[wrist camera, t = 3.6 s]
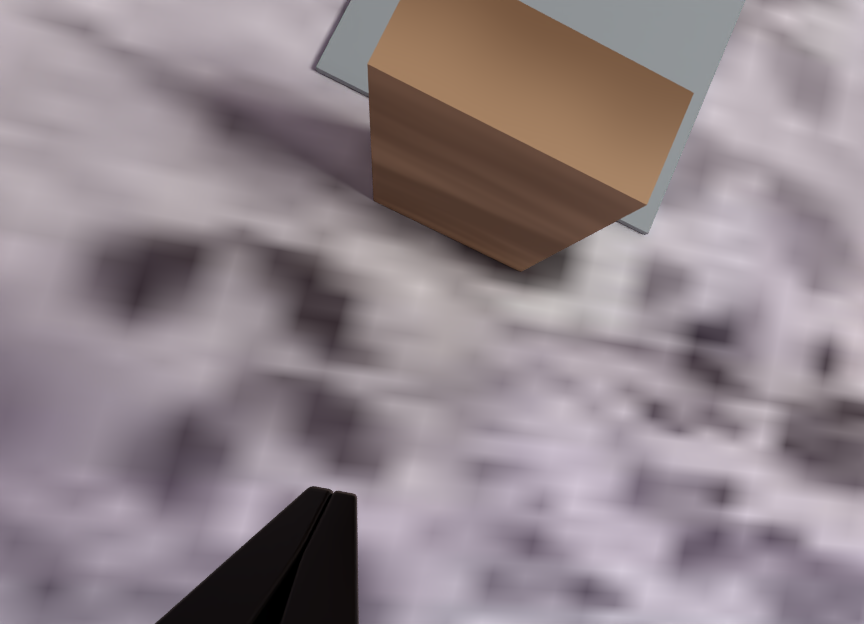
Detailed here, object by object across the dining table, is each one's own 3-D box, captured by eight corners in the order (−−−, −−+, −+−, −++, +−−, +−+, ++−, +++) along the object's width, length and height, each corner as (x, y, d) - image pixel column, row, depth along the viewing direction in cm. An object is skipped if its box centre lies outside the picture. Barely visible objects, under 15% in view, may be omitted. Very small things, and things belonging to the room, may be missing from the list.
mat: (644, 234, 22) (648, 233, 21) (316, 71, 21) (316, 66, 20) (752, -24, 23) (757, -28, 23) (452, -189, 22) (453, -196, 22)
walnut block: (520, 271, 21) (647, 205, 11) (373, 200, 20) (367, 63, 11) (547, 211, 21) (694, 92, 11) (403, 139, 21) (424, -50, 11)
